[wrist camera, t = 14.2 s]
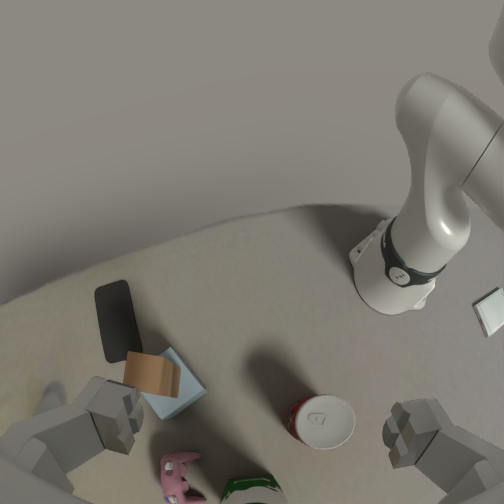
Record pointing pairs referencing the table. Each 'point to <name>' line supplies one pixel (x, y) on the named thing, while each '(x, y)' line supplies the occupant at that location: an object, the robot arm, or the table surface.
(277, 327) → the table surface
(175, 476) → the video game controller
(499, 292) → the hard drive
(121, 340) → the phone
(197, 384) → the base block
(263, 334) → the table surface
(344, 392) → the table surface
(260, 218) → the table surface
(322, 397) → the canned food
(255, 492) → the milk carton
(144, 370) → the walnut post
